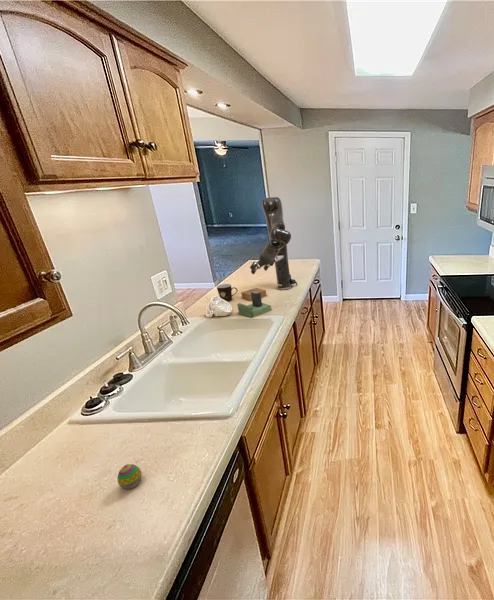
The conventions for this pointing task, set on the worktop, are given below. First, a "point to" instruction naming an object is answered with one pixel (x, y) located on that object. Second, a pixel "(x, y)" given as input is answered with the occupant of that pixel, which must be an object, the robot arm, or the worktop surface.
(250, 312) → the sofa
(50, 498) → the worktop surface
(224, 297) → the coffee mug
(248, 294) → the brown wooden block
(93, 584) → the worktop surface
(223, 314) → the skull bowl
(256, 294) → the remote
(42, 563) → the worktop surface
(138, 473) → the egg
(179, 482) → the worktop surface
